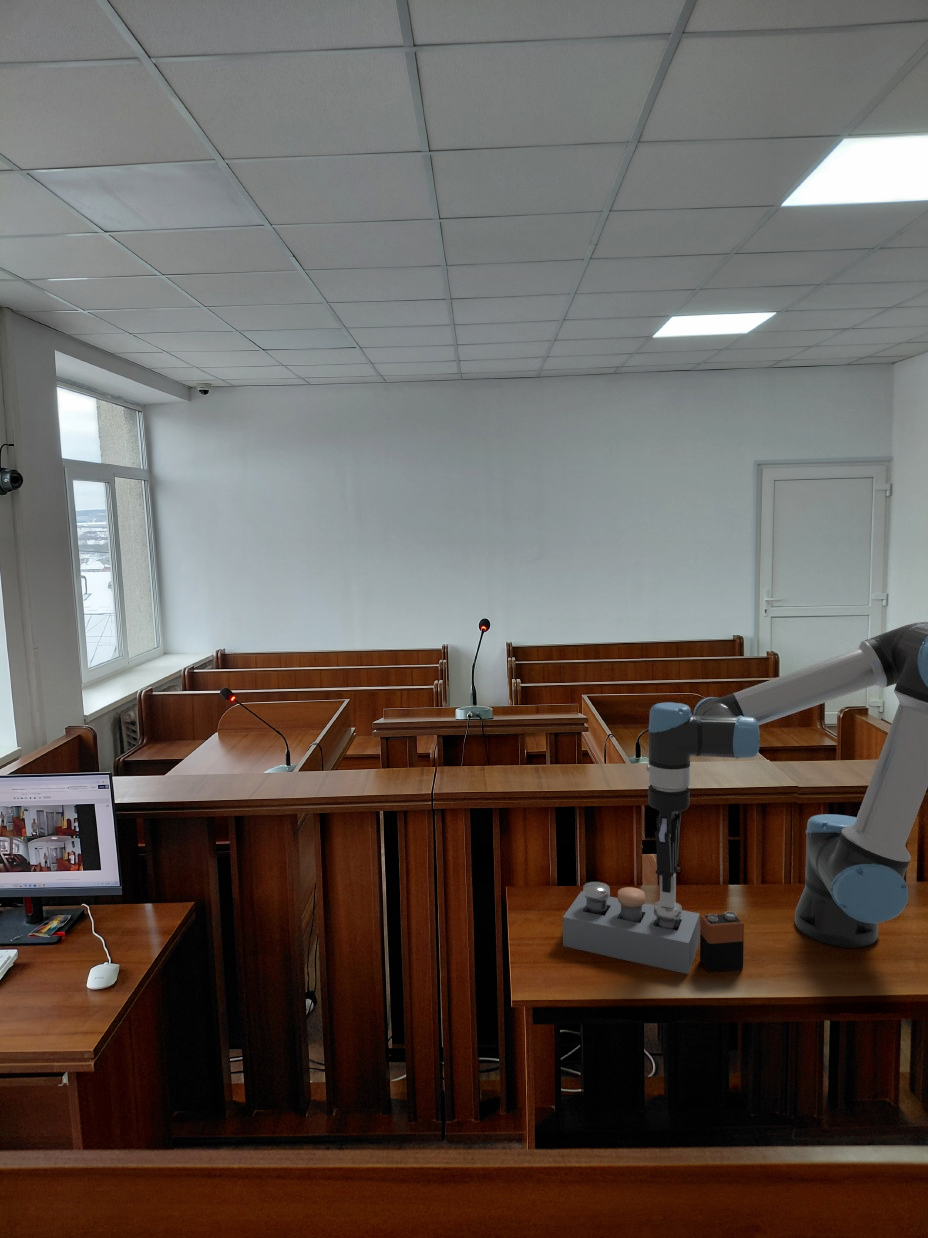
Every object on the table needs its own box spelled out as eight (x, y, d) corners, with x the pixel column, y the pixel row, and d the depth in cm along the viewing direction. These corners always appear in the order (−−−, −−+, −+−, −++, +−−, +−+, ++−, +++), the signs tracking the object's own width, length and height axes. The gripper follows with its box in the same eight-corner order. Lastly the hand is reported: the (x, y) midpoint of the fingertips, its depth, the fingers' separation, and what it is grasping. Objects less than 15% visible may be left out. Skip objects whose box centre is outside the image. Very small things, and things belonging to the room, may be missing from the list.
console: (699, 942, 152) (699, 913, 152) (688, 974, 142) (688, 943, 141) (581, 918, 163) (581, 891, 162) (563, 946, 152) (562, 917, 152)
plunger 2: (683, 935, 150) (684, 903, 149) (678, 948, 146) (679, 915, 145) (656, 930, 152) (657, 898, 152) (650, 942, 148) (651, 910, 147)
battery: (744, 970, 143) (745, 918, 142) (708, 973, 142) (709, 921, 141) (733, 957, 147) (734, 907, 146) (698, 960, 146) (699, 910, 145)
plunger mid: (647, 921, 153) (647, 890, 152) (641, 934, 148) (641, 901, 148) (621, 916, 155) (621, 885, 155) (614, 928, 151) (614, 896, 150)
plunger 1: (612, 915, 156) (612, 884, 155) (605, 927, 152) (605, 895, 151) (587, 910, 158) (587, 880, 158) (580, 922, 154) (579, 890, 153)
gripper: (656, 773, 153) (655, 887, 156) (640, 794, 141) (640, 917, 144) (695, 778, 150) (693, 894, 152) (682, 799, 138) (681, 925, 141)
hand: (667, 905), depth 148 cm, fingers closed
